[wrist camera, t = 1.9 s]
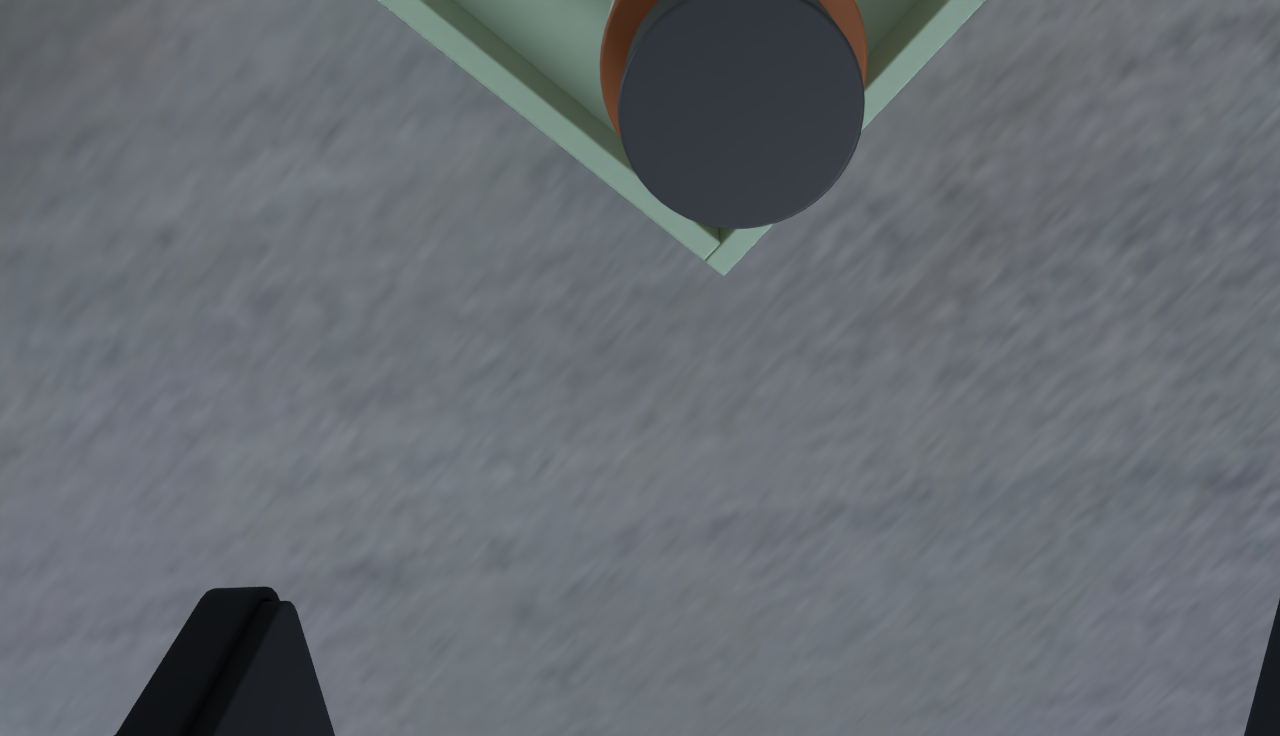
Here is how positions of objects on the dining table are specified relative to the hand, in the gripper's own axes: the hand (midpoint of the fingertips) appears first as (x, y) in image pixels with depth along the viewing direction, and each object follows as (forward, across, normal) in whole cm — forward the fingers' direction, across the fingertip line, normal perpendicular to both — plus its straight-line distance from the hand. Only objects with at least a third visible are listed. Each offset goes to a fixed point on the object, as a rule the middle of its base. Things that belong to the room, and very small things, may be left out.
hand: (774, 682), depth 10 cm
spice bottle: (+20, 0, -3) cm, 21 cm away
